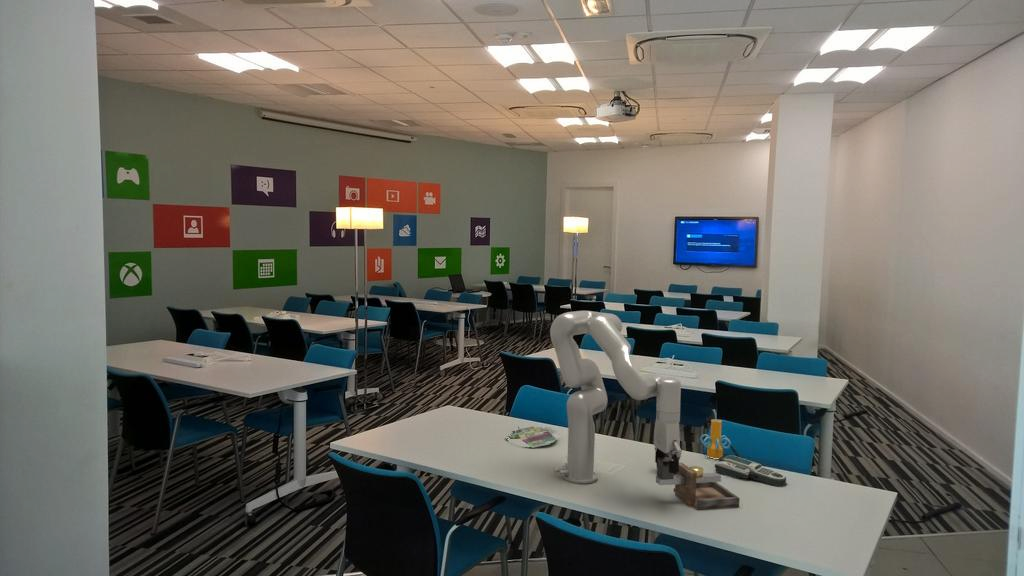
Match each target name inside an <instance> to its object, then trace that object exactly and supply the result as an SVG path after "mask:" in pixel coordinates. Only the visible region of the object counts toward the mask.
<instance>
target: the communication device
mask: <svg viewBox="0 0 1024 576" xmlns="http://www.w3.org/2000/svg"><path fill="white" fill-rule="evenodd" d="M728 445H729V444H728ZM729 446H730V447H729V448H731V450H732V452H733V453H734V454H735V455H731V454H729V453H726V454H724V455H723V456H722V457H720V458H719V459H718V461H716V462H715V464H714V468H715V473H718V474H719V475H723V476H726V477H729V476H730V477H729V478H733V479H748V478H749V479H751V480H755V481H757V482H760V483H763V484H766V485H769V486H773V487H774V486H775V487H783V486H785V485H786V484H787V477H786V476H785V475H784V474H783V473H781V472H778V471H775V470H772V469H770V468H765V467H763V466H762V464H761V463H758V462H755V461H752V460H749V459H746V458H742V457H741V456H740V454H739V453H738V452H737V450H736V449H735V448H734V447H733V446H732V444H731V445H729Z"/></svg>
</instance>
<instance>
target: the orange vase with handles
mask: <svg viewBox="0 0 1024 576" xmlns="http://www.w3.org/2000/svg"><path fill="white" fill-rule="evenodd" d="M722 422H723V421H722V420H721V419H715V418H714V419H711V420H710V435H709V434H706V433H705V434H704V433H703V434H702V435H701V436H700V442H701V443H702V444H703V447H705V448H707V449H706V450H707V452H706V456H709V457H713V458H720V457H722V456H724V455H723V454H724V449H730V448H731V447H730V446H729V445H731V446H732V442H731V440H730V439H729V438H728V437H727V436H726V435H724V434H723V435H722V428H723V427H722ZM704 437H705V438H704ZM703 438H704V439H703ZM707 440H708V441H707ZM706 441H707V442H706ZM723 441H724V443H723ZM727 443H728V445H727ZM725 445H727V446H725ZM709 457H708V458H709Z"/></svg>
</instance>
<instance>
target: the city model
mask: <svg viewBox="0 0 1024 576" xmlns="http://www.w3.org/2000/svg"><path fill="white" fill-rule="evenodd" d="M517 428H518V429H516V430H512V431H511V432H510V434H509V435H511V436H509V435H507V436H506V437H509V438H510V439H520V440H521V441H523V442H525V443H526V444H528V445H529V446H530V447H532V448H531V449H533V448H538V447H542V446H547V445H551V443H552V444H553V443H555V442H556V440H557V439H559V436H560V434H559V433H560V432H558V430H555V429H554V428H552V427H551V428H550V427H547V426H545V427H544V426H533V425H532V426H529V427H524V428H520V426H517ZM513 437H514V438H513ZM507 439H508V438H507Z"/></svg>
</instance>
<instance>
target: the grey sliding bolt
mask: <svg viewBox="0 0 1024 576" xmlns="http://www.w3.org/2000/svg"><path fill="white" fill-rule="evenodd" d="M669 460H670V458H669V457H660V458H657V465H656V476H655V483H656V484H658V485H659V486H669V485H670V486H672V485H674V486H675V484H686V477H685V476H684V475H676V474H675V475H674V473H669ZM707 482H717V483H721V482H722V474H720V473H718V472H706V473H705V472H703V477H702V478H696V483H707Z"/></svg>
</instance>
